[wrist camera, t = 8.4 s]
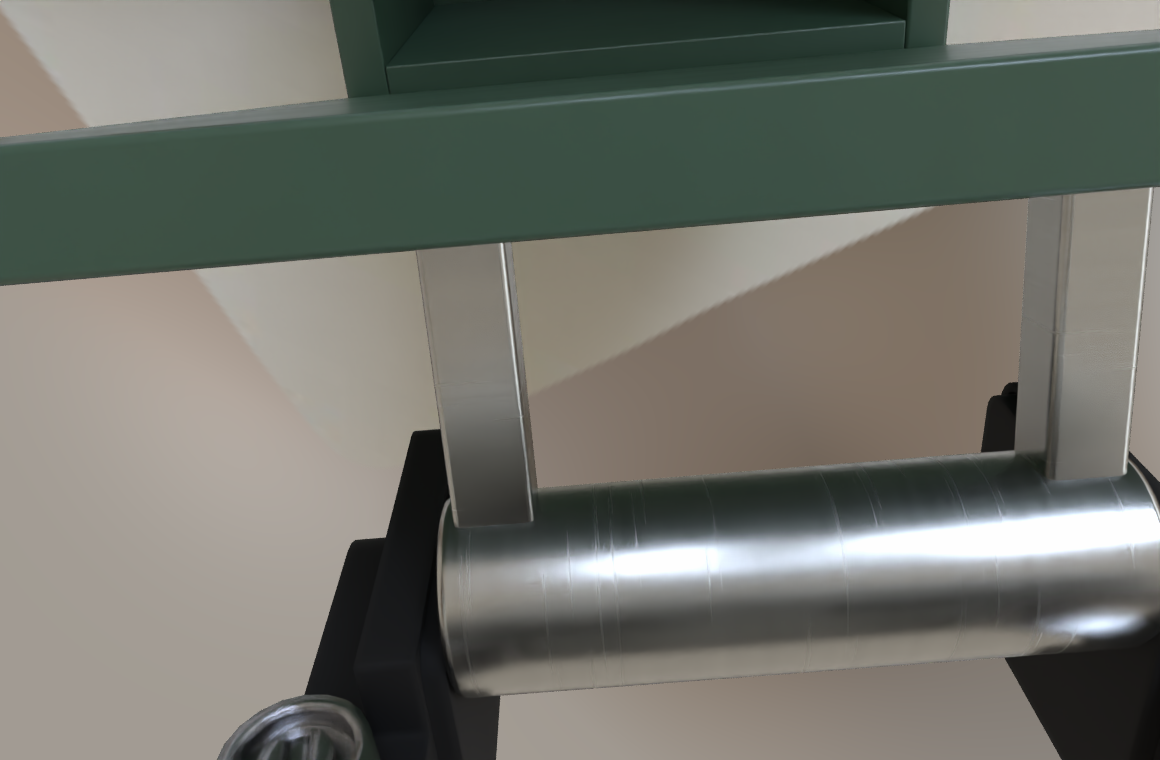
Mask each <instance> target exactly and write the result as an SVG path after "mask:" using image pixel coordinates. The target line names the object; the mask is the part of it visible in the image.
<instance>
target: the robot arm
mask: <svg viewBox="0 0 1160 760" xmlns="http://www.w3.org/2000/svg"><path fill="white" fill-rule="evenodd" d="M1017 394H1018V382H1013V383H1008V384H1007V385H1006V386H1005V387H1004V389H1003V391H1002V394H1001V395H997V396H993V397H991V398H990V400H989V402H988V406H987V413H986V420H985V427H984V434H983V441H982V449H981V453H983V452H996V451H1008V450H1014V447H1015V430H1016V412H1017ZM1128 458H1130V459H1131V460H1132V461H1133V462H1134V463H1135V465H1136V466H1137V467H1138V468H1139V469H1140V471H1141V472H1142V473H1143V475H1144V476H1145V478H1146V479H1147V481H1148V483H1149V484H1150V486H1151V488H1152V490H1153V492H1154V494H1155V496H1156V498H1157V501H1158V503H1159V506H1160V482H1159V481H1158V480H1157V479H1156V478H1155V477H1154V476H1153V475H1152V474H1151V473H1150V472H1149V471H1148V470H1147V469H1146V468H1145V467H1144V466H1143V465H1142V464H1141V463H1140V462H1139V461H1138V460H1137V459H1136V457H1134V456H1133V454H1132V453H1130V451H1129V455H1128ZM449 498H450V495H449V488H448V480H447V473H446V466H445V459H444V451H443V444H442V437H441V430H440V429H436V430H424V431H414V432H413V434H412V436H411V440H410V444H409V448H408V452H407V456H406V460H405V464H404V468H403V472H402V476H401V480H400V484H399V488H398V492H397V496H396V500H395V504H394V508H393V512H392V516H391V520H390V523H389V528H388V531H387V535H386V538H376V539H362V540H355V541H354V542H352V544H351V545H350V548H349V550H348V552H347V556H346V559H345V562H344V566H343V569H342V572H341V576H340V580H339V582H338V586H337V589H336V592H335V596H334V599H333V602H332V605H331V609H330V612H329V616H328V619H327V622H326V625H325V629H324V632H323V635H322V639H321V642H320V645H319V648H318V652H317V655H316V658H315V662H314V665H313V668H312V672H311V675H310V678H309V682H308V685H307V688H306V691H305V695H303V696H298V697H294V698H290V699H286V700H282V701H280V702H278V703H276V704H274V705H272V706H270V707H268V708H265V709H263V710H261V711H259V712H258V713H257V714H255V715H254V716H253V717H251V718H250V719H249V720H247V721H246V722H245V723H243V724H242V725H241V726H239V728H238V729H237V730H236V731H235V732H234V733H233V735H232V736H231V737H230V738H229V739H228V740H227V742H226V743H225V744H224V746H223V748H222V750H221V752H220V754H219V756H218V759H217V760H496V750H497V734H498V720H499V706H500V696H487V697H474V698H465V697H462V696H459V695H457V694H456V693H455V692H454V690H453V688H452V686H451V683H450V681H449V678H448V675H447V672H446V669H445V665H444V660H443V655H442V649H441V643H440V635H439V626H438V615H437V600H436V548H437V536H438V528H439V522H440V518H441V514H442V511H443V507H444V505H445V502H446V501H447V499H449ZM1004 658H1005V660H1006V661H1007V663H1008V665H1009V667H1010V668H1011V670H1012V672H1013V674H1014V676H1015V677H1016V679H1017V681H1018V683H1019V685H1020V686H1021V688H1022V690H1023V692H1024V693H1025V695H1026V697H1027V699H1028V701H1029V702H1030V704H1031V706H1032V708H1033V709H1034V711H1035V713H1036V715H1037V717H1038V718H1039V720H1040V722H1041V724H1042V725H1043V727H1044V729H1045V731H1046V733H1047V734H1048V736H1049V738H1050V740H1051V742H1052V743H1053V745H1054V747H1055V749H1056V750H1057V752H1058V754H1059V756H1060V758H1061V759H1062V760H1160V631H1159V632H1158V634H1157V635H1156V636H1155V637H1154V638H1152V639H1151V640H1149V641H1148V642H1146V643H1144V644H1142V645H1141V646H1138V647H1134V648H1123V649H1110V650H1096V651H1083V652H1070V653H1057V654H1043V655H1030V656H1017V657H1004Z"/></svg>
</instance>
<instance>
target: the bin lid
mask: <svg viewBox="0 0 1160 760" xmlns="http://www.w3.org/2000/svg"><path fill="white" fill-rule="evenodd" d="M1154 187H1160V29H1156V30H1142V31H1129V32H1115V33H1102V34H1088V35H1075V36H1061V37H1047V38H1034V39H1020V40H1007V41H993V42H980V43H966V44H953V45H942V46H930V47H919V48H908V49H896V50H885V51H874V52H863V53H851V54H840V55H829V56H818V57H806V58H795V59H784V60H773V61H761V62H750V63H739V64H728V65H716V66H705V67H694V68H683V69H671V70H660V71H649V72H638V73H626V74H615V75H604V76H593V77H581V78H570V79H559V80H547V81H536V82H525V83H514V84H502V85H491V86H480V87H469V88H457V89H446V90H435V91H424V92H412V93H401V94H390V95H379V96H367V97H356V98H345V99H336V100H327V101H319V102H310V103H301V104H292V105H283V106H274V107H266V108H257V109H248V110H239V111H230V112H221V113H213V114H204V115H195V116H186V117H177V118H169V119H160V120H151V121H142V122H133V123H124V124H116V125H107V126H98V127H89V128H80V129H72V130H63V131H54V132H46V133H36V134H28V135H19V136H10V137H1V138H0V286H4V285H15V284H28V283H39V282H51V281H63V280H73V279H74V280H75V279H86V278H98V277H109V276H121V275H132V274H144V273H156V272H168V271H179V270H192V269H203V268H215V267H227V266H239V265H250V264H262V263H274V262H285V261H297V260H309V259H321V258H332V257H344V256H356V255H367V254H379V253H391V252H403V251H414V250H416V255H417V262H418V270H419V277H420V284H421V291H422V299H423V306H424V313H425V320H426V328H427V335H428V342H429V350H430V357H431V364H432V371H433V379H434V386H435V393H436V400H437V408H438V415H439V422H440V430H441V437H442V444H443V451H444V459H445V466H446V473H447V480H448V488H449V495H450V498H449V499H447V501H446V502H445V505H444V507H443V511H442V514H441V518H440V522H439V528H438V536H437V548H436V600H437V615H438V626H439V635H440V643H441V649H442V655H443V660H444V665H445V669H446V672H447V675H448V678H449V681H450V683H451V686H452V688H453V690H454V692H455V693H456V694H457V695H459V696H462V697H465V698H474V697H487V696H500V695H514V694H527V693H539V692H554V691H567V690H579V689H593V688H606V687H619V686H633V685H646V684H659V683H673V682H685V681H699V680H712V679H726V678H738V677H751V676H765V675H777V674H778V675H779V674H791V673H805V672H818V671H832V670H845V669H857V668H870V667H883V666H898V665H909V664H910V665H911V664H924V663H936V662H950V661H962V660H963V661H964V660H977V659H990V658H1004V657H1017V656H1030V655H1043V654H1057V653H1070V652H1083V651H1096V650H1110V649H1123V648H1134V647H1138V646H1141V645H1142V644H1144V643H1146V642H1148V641H1149V640H1151V639H1152V638H1154V637H1155V636H1156V635H1157V634H1158V632H1159V631H1160V506H1159V503H1158V501H1157V498H1156V496H1155V494H1154V492H1153V490H1152V488H1151V486H1150V484H1149V483H1148V481H1147V479H1146V478H1145V476H1144V475H1143V473H1142V472H1141V471H1140V469H1139V468H1138V467H1137V466H1136V465H1135V463H1134V462H1133V461H1132V460H1131V459H1130V458H1128V455H1129V445H1130V434H1131V423H1132V413H1133V402H1134V392H1135V382H1136V371H1137V360H1138V350H1139V340H1140V328H1141V319H1142V307H1143V297H1144V286H1145V276H1146V266H1147V256H1148V245H1149V235H1150V224H1151V213H1152V203H1153V193H1154ZM1023 198H1029V200H1028V217H1027V236H1026V253H1025V270H1024V289H1023V306H1022V323H1021V341H1020V359H1019V377H1018V394H1017V412H1016V430H1015V447H1014V450H1008V451H996V452H983V453H972V454H958V455H946V456H935V457H921V458H909V459H896V460H884V461H871V462H859V463H847V464H833V465H821V466H809V467H796V468H784V469H771V470H758V471H746V472H734V473H721V474H709V475H696V476H683V477H671V478H659V479H646V480H633V481H621V482H609V483H596V484H583V485H571V486H559V487H546V488H537V478H536V470H535V460H534V450H533V441H532V432H531V422H530V413H529V404H528V394H527V385H526V375H525V366H524V357H523V347H522V338H521V329H520V319H519V310H518V301H517V291H516V282H515V273H514V263H513V254H512V244H511V242H520V241H531V240H543V239H555V238H567V237H578V236H590V235H602V234H613V233H625V232H637V231H649V230H660V229H672V228H684V227H695V226H707V225H719V224H731V223H742V222H754V221H766V220H777V219H789V218H801V217H813V216H824V215H836V214H848V213H859V212H871V211H883V210H895V209H906V208H918V207H930V206H941V205H952V204H964V203H977V202H987V201H1000V200H1011V199H1023Z"/></svg>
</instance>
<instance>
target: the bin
mask: <svg viewBox="0 0 1160 760" xmlns="http://www.w3.org/2000/svg"><path fill="white" fill-rule="evenodd" d="M329 1H330V7H331V12H332V17H333V22H334V27H335V32H336V37H337V43H338V48H339V53H340V58H341V63H342V68H343V74H344V79H345V84H346V89H347V94H348V98H356V97H367V96H379V95H390V94H401V93H412V92H424V91H435V90H446V89H457V88H469V87H480V86H491V85H502V84H514V83H525V82H536V81H547V80H559V79H570V78H581V77H593V76H604V75H615V74H626V73H638V72H649V71H660V70H671V69H683V68H694V67H705V66H716V65H728V64H739V63H750V62H761V61H773V60H784V59H795V58H806V57H818V56H829V55H840V54H851V53H863V52H874V51H885V50H896V49H908V48H919V47H930V46H942V45H946V38H947V28H948V17H949V7H950V0H329Z"/></svg>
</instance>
